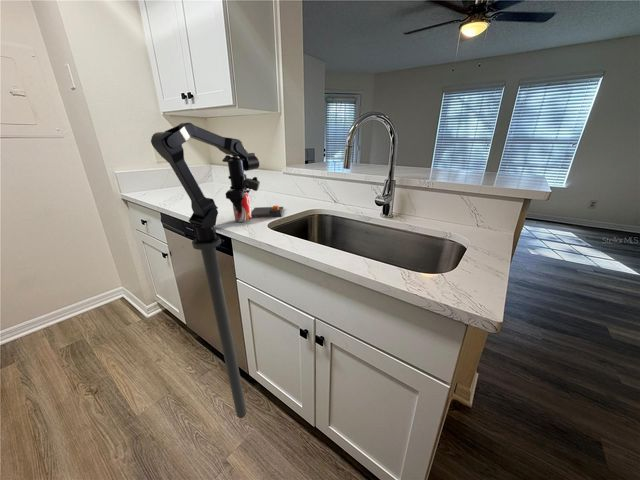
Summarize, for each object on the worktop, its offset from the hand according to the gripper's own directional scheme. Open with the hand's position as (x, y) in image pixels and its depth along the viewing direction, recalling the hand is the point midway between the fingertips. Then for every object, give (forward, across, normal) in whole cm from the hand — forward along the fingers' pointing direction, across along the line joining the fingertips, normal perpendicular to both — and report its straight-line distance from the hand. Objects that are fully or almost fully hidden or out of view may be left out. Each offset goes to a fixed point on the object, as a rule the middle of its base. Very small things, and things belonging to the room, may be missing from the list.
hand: (242, 210), depth 110 cm
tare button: (+2, +6, -13) cm, 15 cm away
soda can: (+5, 0, 0) cm, 5 cm away
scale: (+5, +10, -9) cm, 14 cm away
